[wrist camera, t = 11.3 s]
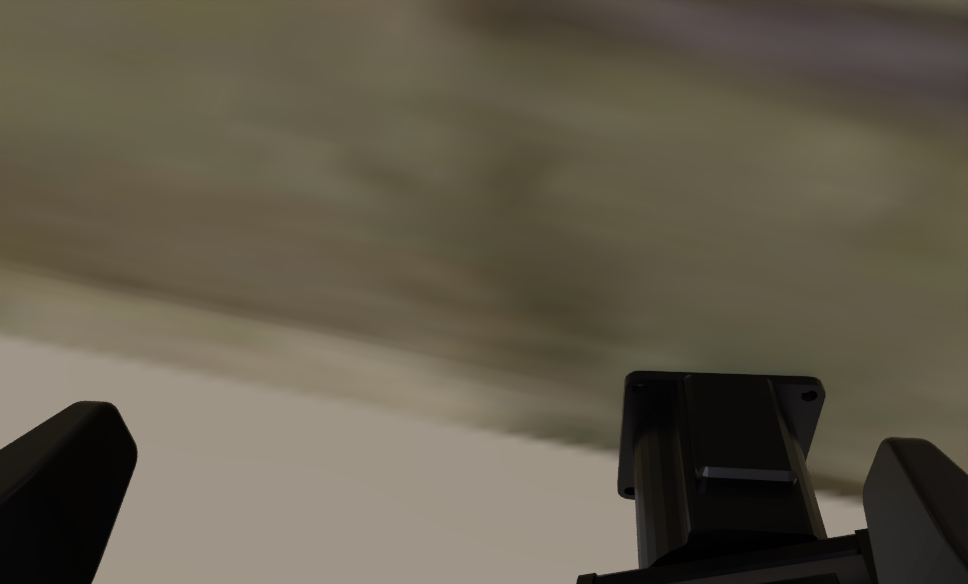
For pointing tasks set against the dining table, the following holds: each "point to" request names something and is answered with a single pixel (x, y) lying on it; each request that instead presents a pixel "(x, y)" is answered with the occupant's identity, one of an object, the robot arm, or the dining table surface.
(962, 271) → the dining table surface
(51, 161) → the dining table surface
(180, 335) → the dining table surface
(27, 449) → the robot arm
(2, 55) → the dining table surface
